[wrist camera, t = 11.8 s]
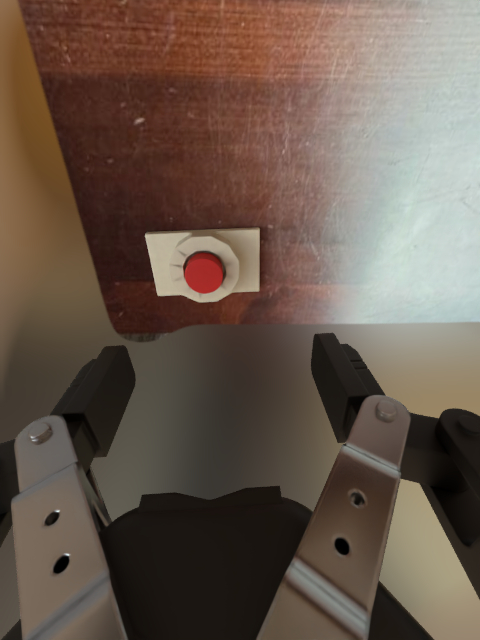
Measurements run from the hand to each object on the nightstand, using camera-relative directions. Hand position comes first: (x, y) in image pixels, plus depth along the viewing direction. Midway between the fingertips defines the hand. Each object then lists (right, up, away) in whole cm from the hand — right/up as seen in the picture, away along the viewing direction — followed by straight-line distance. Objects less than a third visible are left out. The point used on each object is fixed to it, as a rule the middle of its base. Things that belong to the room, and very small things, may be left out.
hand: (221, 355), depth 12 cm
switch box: (-2, +7, +14) cm, 16 cm away
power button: (-2, +6, +13) cm, 14 cm away
